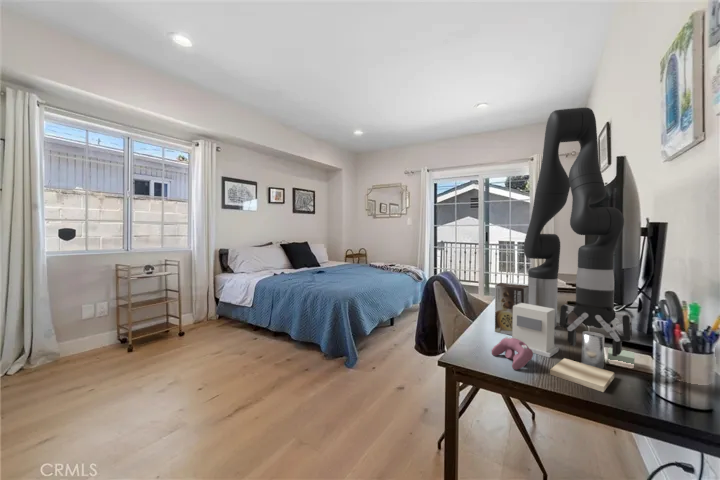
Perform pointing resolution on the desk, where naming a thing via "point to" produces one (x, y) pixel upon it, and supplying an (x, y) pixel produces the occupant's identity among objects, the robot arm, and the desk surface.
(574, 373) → the birch pad
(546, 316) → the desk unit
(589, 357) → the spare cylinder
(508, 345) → the video game controller
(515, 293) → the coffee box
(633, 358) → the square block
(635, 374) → the desk surface
